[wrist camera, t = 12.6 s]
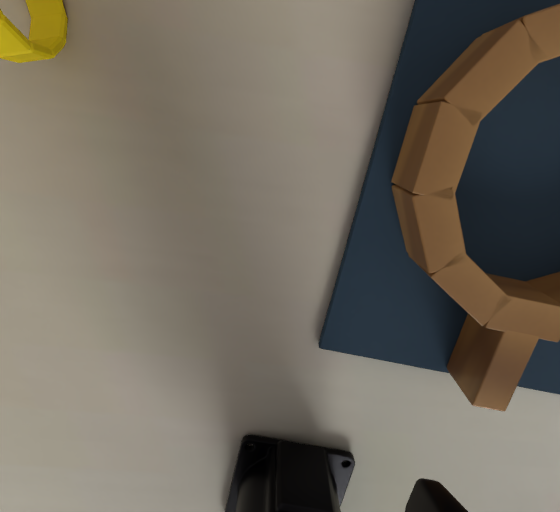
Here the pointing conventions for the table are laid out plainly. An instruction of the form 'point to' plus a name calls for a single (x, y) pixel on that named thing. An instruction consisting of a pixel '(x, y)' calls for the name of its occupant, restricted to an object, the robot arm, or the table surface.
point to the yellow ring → (35, 33)
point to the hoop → (445, 217)
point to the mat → (469, 196)
